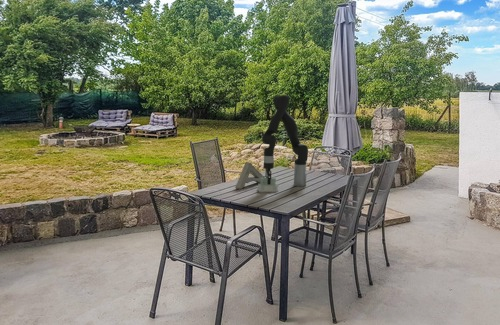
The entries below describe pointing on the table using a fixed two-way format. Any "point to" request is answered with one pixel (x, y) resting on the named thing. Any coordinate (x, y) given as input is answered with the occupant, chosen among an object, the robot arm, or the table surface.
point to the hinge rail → (268, 188)
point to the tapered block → (264, 180)
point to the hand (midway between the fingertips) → (268, 183)
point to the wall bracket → (245, 173)
